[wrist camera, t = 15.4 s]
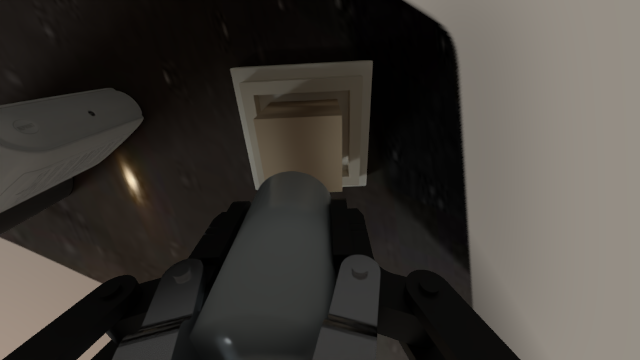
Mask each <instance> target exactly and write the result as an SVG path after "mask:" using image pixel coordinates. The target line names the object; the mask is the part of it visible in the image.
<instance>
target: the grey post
mask: <svg viewBox="0 0 640 360" xmlns="http://www.w3.org/2000/svg"><path fill="white" fill-rule="evenodd" d="M335 286H336V273H335V269H334V261H333V239H332V217H331V196H330V193H329V191H328V190H327V188H326V187H325V186H324V184H323V183H321V182H320V181H319V180H318V179H316V178H315V177H313V176H311V175H308V174H306V173H302V172H296V171H287V172H281V173H278V174H275V175H273V176H271V177H269V178H268V179H266V180H265V181H264V182H263V183H262V184H261V186H260V187H259V189H258V191H257V193H256V195H255V197H254V199H253V202H252V204H251V206H250V208H249V210H248V212H247V214H246V216H245V219H244V221H243V223H242V225H241V227H240V229H239V231H238V233H237V236H236V238H235V240H234V242H233V244H232V246H231V248H230V250H229V253H228V255H227V257H226V259H225V261H224V263H223V265H222V267H221V270H220V272H219V274H218V276H217V278H216V280H215V282H214V284H213V287H212V289H211V291H210V293H209V295H208V297H207V299H206V301H205V304H204V306H203V308H202V310H201V312H200V314H199V316H198V318H197V321H196V323H195V325H194V327H193V329H192V331H191V334H190V336H189V338H190V340H191V342H192V343H193V345H194V347H195V349H196V350H197V352H198V354H199V355H200V357H201V359H202V360H313V356H314V352H315V348H316V345H317V341H318V337H319V333H320V330H321V326H322V323H323V321H324V319H325V318H327V317H328V314H329V310H330V306H331V302H332V298H333V294H334V290H335Z"/></svg>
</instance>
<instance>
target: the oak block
mask: <svg viewBox="0 0 640 360" xmlns="http://www.w3.org/2000/svg"><path fill="white" fill-rule="evenodd" d="M253 121H254V126H255V131H256V137H257V142H258V147H259V153H260V158H261V163H262V169H263V174H264V179H265V180H266V179H268V178H269V177H271V176H273V175H275V174H278V173H281V172H287V171H296V172H302V173H306V174H308V175H311V176H313V177H315V178H316V179H318V180H319V181H320V182H321V183H323V184H324V186H325V187H326V188H327V190H328V191H329V192H342V113H341V110H340V107H339V103H338V100H337V99H327V100H306V101H286V102H270V103H269V104H268V105H267V106H266V107H265V108H264V109H263V110H262V111H261V112H260V113H259V114H258V115H257V116H256V117H255V118H254V119H253Z"/></svg>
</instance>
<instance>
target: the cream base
mask: <svg viewBox="0 0 640 360" xmlns="http://www.w3.org/2000/svg"><path fill="white" fill-rule="evenodd" d="M372 67H373V61H371V60H361V61H342V62H324V63H305V64H287V65H268V66H250V67H236V68H231V69H230V71H231V76H232V80H233V85H234V90H235V94H236V99H237V104H238V108H239V113H240V118H241V123H242V127H243V132H244V137H245V141H246V146H247V151H248V155H249V160H250V165H251V170H252V174H253V179H254V184H255V188H256V190H258V189H259V187H260V186H261V184H262V183H263V182H264V181H265V179H264V174H263V169H262V163H261V158H260V153H259V147H258V142H257V137H256V131H255V126H254V121H253V119H254V118H255V117H256V116H257V115H258V114H259V113H260V112H261V111H262V110H263V109H264V108H265V107H266V106H267V105H268V104H269V103H270V102H286V101H306V100H327V99H337V100H338V103H339V107H340V110H341V113H342V187H345V186H366V178H367V160H368V141H369V123H370V104H371V86H372Z"/></svg>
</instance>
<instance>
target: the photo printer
mask: <svg viewBox="0 0 640 360" xmlns="http://www.w3.org/2000/svg"><path fill="white" fill-rule="evenodd" d="M143 119H144V117H143V116H142V111H141V109H140V107H139V105H138V104H137V103H136V102H135V100H134V99H133V98H131V97H130V96H129V95H127V94H125V93H123V92H120V91H116V90H115V89H113V88H104V89H97V90H90V91H84V92H78V93H72V94H66V95H60V96H53V97H47V98H41V99H35V100H29V101H23V102H17V103H11V104H6V105H0V213H1V212H3V211H5V210H7V209H9V208H11V207H13V206H15V205H17V204H19V203H21V202H23V201H25V200H27V199H29V198H31V197H33V196H35V195H37V194H39V193H41V192H43V191H45V190H47V189H49V188H51V187H53V186H55V185H57V184H59V183H61V182H63V181H65V180H67V179H69V178H71V177H73V176H75V175H77V174H79V173H81V172H83V171H85V170H87V169H89V168H91V167H93V166H95V165H97V164H98V163H100V162H101V161H102V160H104V159H105V158H106V157H107V156H109V155H110V154H111V153H112V152H113V151H114V150H115V149H116V148H117V147H118V146H119V145H120V144H121V143H123V142H124V141H125V140H126V139H127V138H128V137H129V136H130V135H131V134H132V133H133V132H134V131H135V130H136V129H137V127H138V126H139V125H140V124H141V122H142V121H143Z"/></svg>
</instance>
